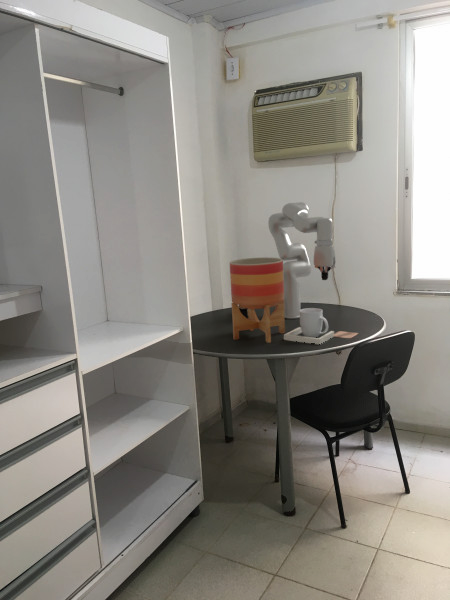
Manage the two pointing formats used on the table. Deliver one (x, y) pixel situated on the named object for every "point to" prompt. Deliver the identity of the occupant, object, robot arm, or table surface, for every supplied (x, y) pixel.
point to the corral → (293, 337)
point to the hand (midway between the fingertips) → (324, 279)
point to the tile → (345, 334)
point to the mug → (312, 322)
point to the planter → (257, 294)
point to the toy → (244, 312)
